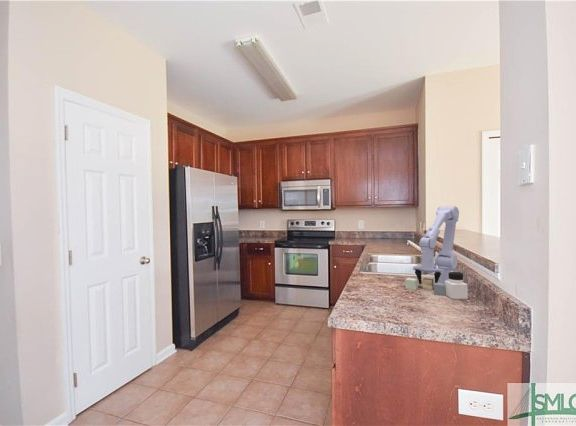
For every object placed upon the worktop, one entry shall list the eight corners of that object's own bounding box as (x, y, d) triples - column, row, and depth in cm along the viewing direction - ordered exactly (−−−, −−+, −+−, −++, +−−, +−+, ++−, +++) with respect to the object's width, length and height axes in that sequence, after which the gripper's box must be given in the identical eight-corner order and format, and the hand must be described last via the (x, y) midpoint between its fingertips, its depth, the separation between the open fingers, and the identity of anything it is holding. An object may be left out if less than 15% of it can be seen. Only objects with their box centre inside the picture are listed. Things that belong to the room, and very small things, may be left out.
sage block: (408, 286, 154) (408, 277, 154) (417, 288, 151) (417, 278, 151) (405, 288, 150) (405, 279, 150) (415, 290, 147) (415, 280, 147)
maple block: (424, 286, 153) (424, 277, 153) (433, 288, 150) (433, 278, 151) (422, 288, 150) (422, 279, 150) (431, 290, 147) (431, 280, 147)
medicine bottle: (468, 299, 131) (467, 273, 131) (452, 299, 131) (452, 273, 131) (459, 294, 138) (458, 270, 138) (444, 294, 138) (444, 270, 138)
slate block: (433, 292, 143) (433, 282, 143) (443, 293, 141) (443, 283, 141) (434, 294, 139) (434, 284, 139) (444, 295, 137) (444, 285, 137)
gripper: (411, 259, 152) (411, 284, 152) (441, 262, 143) (441, 288, 142) (414, 257, 157) (415, 281, 157) (444, 260, 148) (444, 285, 148)
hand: (428, 285), depth 150 cm, fingers open, 7 cm apart
